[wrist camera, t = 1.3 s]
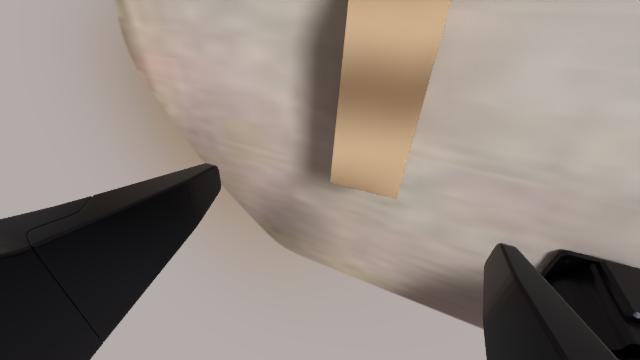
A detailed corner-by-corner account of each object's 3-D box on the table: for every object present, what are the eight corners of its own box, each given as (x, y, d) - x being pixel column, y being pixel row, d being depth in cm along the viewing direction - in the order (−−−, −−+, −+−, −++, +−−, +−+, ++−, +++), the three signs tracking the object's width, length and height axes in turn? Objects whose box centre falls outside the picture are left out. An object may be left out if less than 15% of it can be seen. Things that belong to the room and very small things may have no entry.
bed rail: (404, 157, 21) (396, 199, 17) (350, 146, 21) (330, 182, 18) (480, -122, 12) (498, -170, 9) (387, -122, 13) (365, -165, 9)
